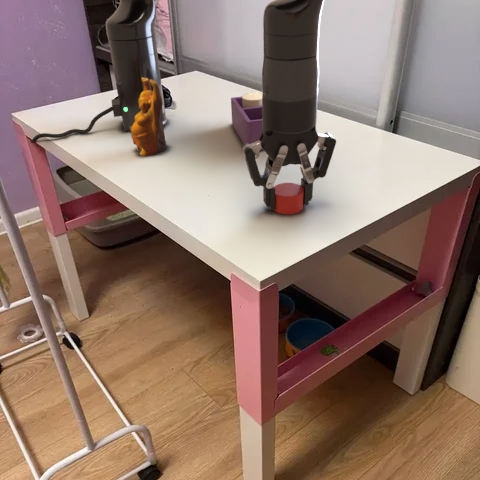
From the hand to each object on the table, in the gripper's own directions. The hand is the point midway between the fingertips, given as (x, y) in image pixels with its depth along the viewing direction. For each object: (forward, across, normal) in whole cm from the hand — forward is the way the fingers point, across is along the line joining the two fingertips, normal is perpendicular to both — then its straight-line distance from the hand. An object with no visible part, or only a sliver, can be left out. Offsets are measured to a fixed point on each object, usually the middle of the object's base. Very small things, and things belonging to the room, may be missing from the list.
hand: (287, 204), depth 80 cm
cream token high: (-3, -3, -35) cm, 35 cm away
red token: (0, 0, 0) cm, 0 cm away
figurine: (+1, +19, -30) cm, 36 cm away
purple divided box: (0, -3, -31) cm, 31 cm away
